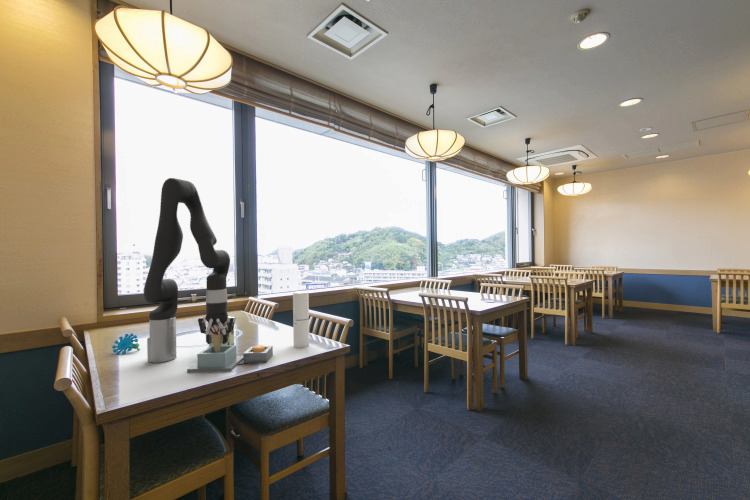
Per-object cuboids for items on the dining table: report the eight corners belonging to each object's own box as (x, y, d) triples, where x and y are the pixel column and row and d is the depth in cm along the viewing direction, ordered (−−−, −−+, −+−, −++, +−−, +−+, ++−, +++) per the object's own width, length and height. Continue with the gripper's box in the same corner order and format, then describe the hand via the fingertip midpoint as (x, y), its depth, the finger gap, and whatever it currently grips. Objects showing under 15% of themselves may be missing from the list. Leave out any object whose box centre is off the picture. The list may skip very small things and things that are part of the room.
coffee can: (209, 351, 144) (208, 319, 144) (234, 347, 148) (233, 317, 148) (208, 358, 135) (207, 324, 135) (235, 354, 139) (234, 322, 139)
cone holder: (187, 372, 119) (187, 355, 119) (206, 359, 133) (205, 344, 133) (230, 371, 120) (230, 355, 120) (244, 358, 134) (244, 343, 134)
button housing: (243, 363, 128) (243, 353, 128) (251, 355, 137) (251, 346, 137) (266, 362, 129) (266, 352, 129) (272, 355, 138) (272, 345, 138)
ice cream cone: (206, 360, 126) (205, 322, 126) (219, 356, 131) (219, 319, 130) (214, 363, 123) (214, 324, 123) (228, 358, 128) (227, 321, 127)
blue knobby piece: (105, 351, 140) (121, 330, 147) (113, 357, 144) (128, 337, 151) (128, 355, 139) (143, 334, 146) (135, 361, 143) (150, 341, 150)
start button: (250, 356, 131) (250, 349, 131) (254, 352, 135) (254, 345, 135) (262, 356, 131) (262, 348, 131) (266, 352, 136) (266, 345, 135)
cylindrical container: (305, 347, 147) (304, 293, 147) (290, 347, 149) (290, 293, 148) (311, 343, 154) (310, 291, 154) (297, 342, 156) (297, 291, 155)
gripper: (193, 302, 122) (193, 346, 123) (231, 302, 123) (231, 346, 123) (203, 299, 130) (203, 341, 130) (238, 298, 130) (239, 340, 131)
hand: (217, 343), depth 127 cm, fingers closed on ice cream cone, 5 cm apart
